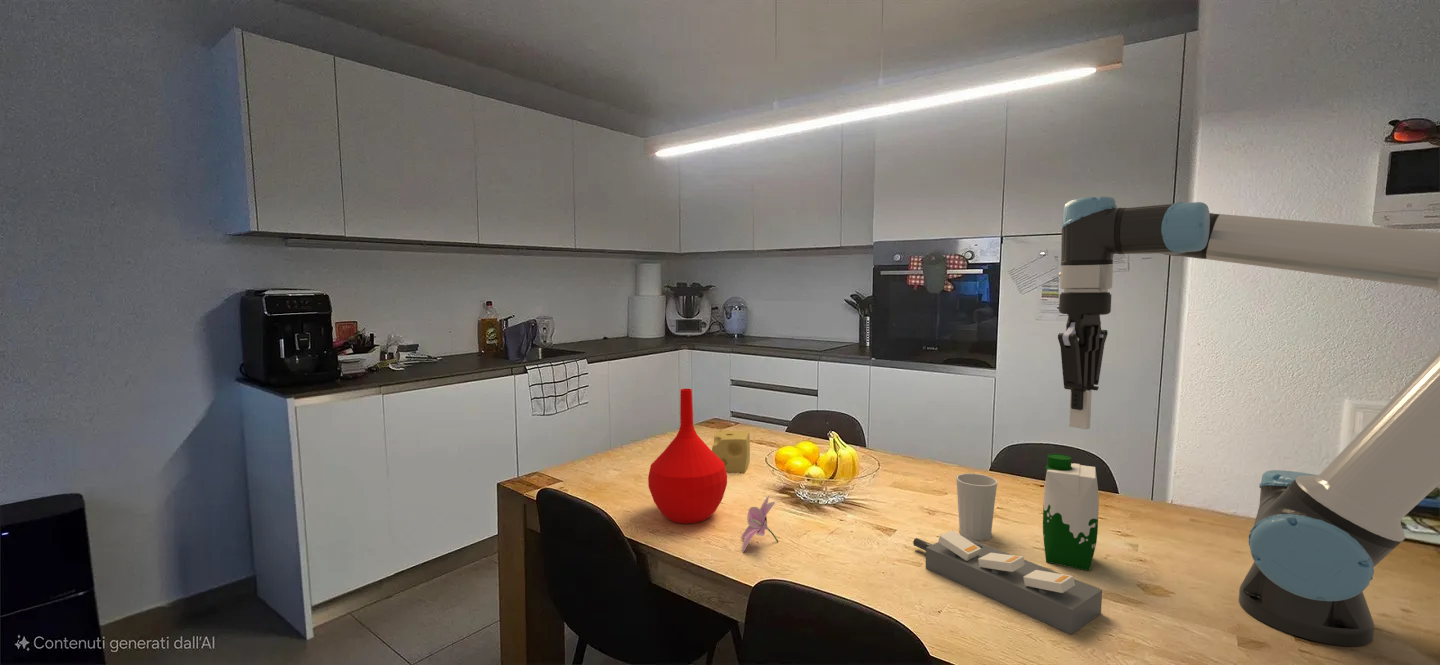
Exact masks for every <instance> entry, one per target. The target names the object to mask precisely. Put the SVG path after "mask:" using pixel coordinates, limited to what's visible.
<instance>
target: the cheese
mask: <svg viewBox="0 0 1440 665" xmlns="http://www.w3.org/2000/svg"><path fill="white" fill-rule="evenodd" d="M750 437H751V436H750V431H749V430H748V431H747V430H746V431H745V430H721V429H720V430H717V431H716V432H715V433H714V436H713V444H712V447H711V451H713V452H714V453H715V454H716V455H717V456H718V457H719V458H720V459H721V460H722V461H723V462H724V464H725V468H726V473H733V472H741V473H740V474H746V473H745V472H747V470H748V467H749V464H750V459H751V458H750V455H751V454H750V453H751V447H750V446H751V444H750V443H751V441H750Z"/></svg>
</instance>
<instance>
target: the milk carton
mask: <svg viewBox="0 0 1440 665" xmlns="http://www.w3.org/2000/svg"><path fill="white" fill-rule="evenodd" d="M1046 457H1047V459H1046V464H1045V479H1044V480H1045V482H1044V491H1043V505H1042V506H1043V507H1042V509H1043V510H1042V513H1043V514H1042V537H1043V538H1042V539H1043V546H1044V555H1045V562H1046V563H1050V564H1054V565H1059V566H1064V567H1069V568H1073V569H1078V570H1081V571H1082V570H1083V571H1087V572H1090V571H1091V567H1092V566H1091V565H1092V562H1093V559H1094V556H1095V555H1094V554H1095V551H1096V547H1097V542H1098V541H1097V540H1098V533H1099V532H1098V531H1099V530H1098V529H1099V528H1098V527H1099V510H1100V508H1099V506H1100V498H1099V486H1098V485H1099V484H1098V478H1097V471H1096V466H1089V465H1082V464H1080V463H1072V457H1071V456H1069V455H1066V454H1060V453H1048V454H1047V456H1046Z"/></svg>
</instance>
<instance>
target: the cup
mask: <svg viewBox="0 0 1440 665" xmlns="http://www.w3.org/2000/svg"><path fill="white" fill-rule="evenodd" d="M955 480H956V493H957V494H956V495H957V508H958V509H957V511H958V525H959V528H958V530H959V532H958V534H960V535H962V536H964V537H967V538H969V539H972V540H975V541H977V542H979V541H980V542H982V541H983V542H984V541H988V540H991V538H992V532H993V530H992V529H993V519H994V513H995V505H996V504H995V503H996V495H997V487H998V480H997V479H996V478H994V477H993V476H989V475H986V474H981V473H971V472H969V473H968V472H967V473H961V474H958V475H957V476H956V478H955Z"/></svg>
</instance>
